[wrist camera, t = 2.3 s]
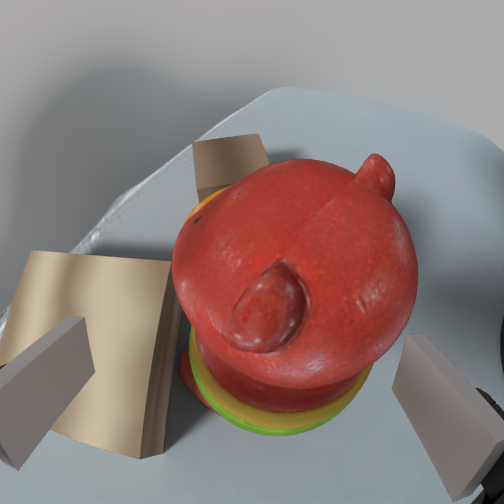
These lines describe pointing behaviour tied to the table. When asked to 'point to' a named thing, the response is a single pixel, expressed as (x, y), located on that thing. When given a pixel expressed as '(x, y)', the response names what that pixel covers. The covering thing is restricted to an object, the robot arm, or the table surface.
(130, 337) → the maple block
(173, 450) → the table surface
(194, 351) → the stacking bear
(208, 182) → the walnut cube
